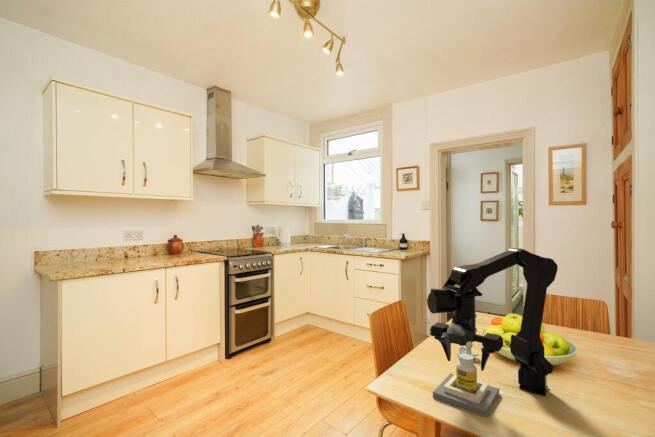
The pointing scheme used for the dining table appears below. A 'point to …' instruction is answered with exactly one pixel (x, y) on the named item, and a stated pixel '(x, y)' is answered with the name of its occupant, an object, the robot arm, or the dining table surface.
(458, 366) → the supplement bottle
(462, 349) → the pacifier
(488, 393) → the plate
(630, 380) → the dining table surface
